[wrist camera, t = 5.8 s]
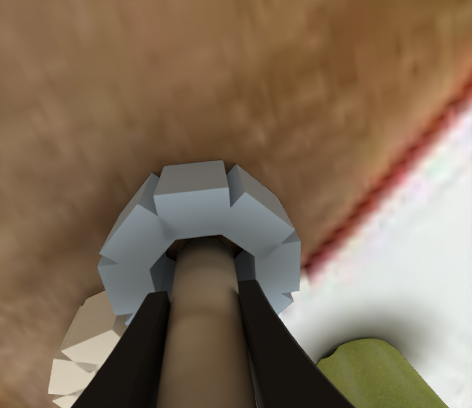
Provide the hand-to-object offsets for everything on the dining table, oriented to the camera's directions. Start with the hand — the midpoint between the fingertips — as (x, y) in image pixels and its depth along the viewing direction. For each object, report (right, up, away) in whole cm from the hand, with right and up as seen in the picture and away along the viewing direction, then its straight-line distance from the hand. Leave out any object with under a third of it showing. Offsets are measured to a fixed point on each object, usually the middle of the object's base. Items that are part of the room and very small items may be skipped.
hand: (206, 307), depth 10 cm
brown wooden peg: (0, +1, +2) cm, 2 cm away
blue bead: (-1, +2, +4) cm, 4 cm away
